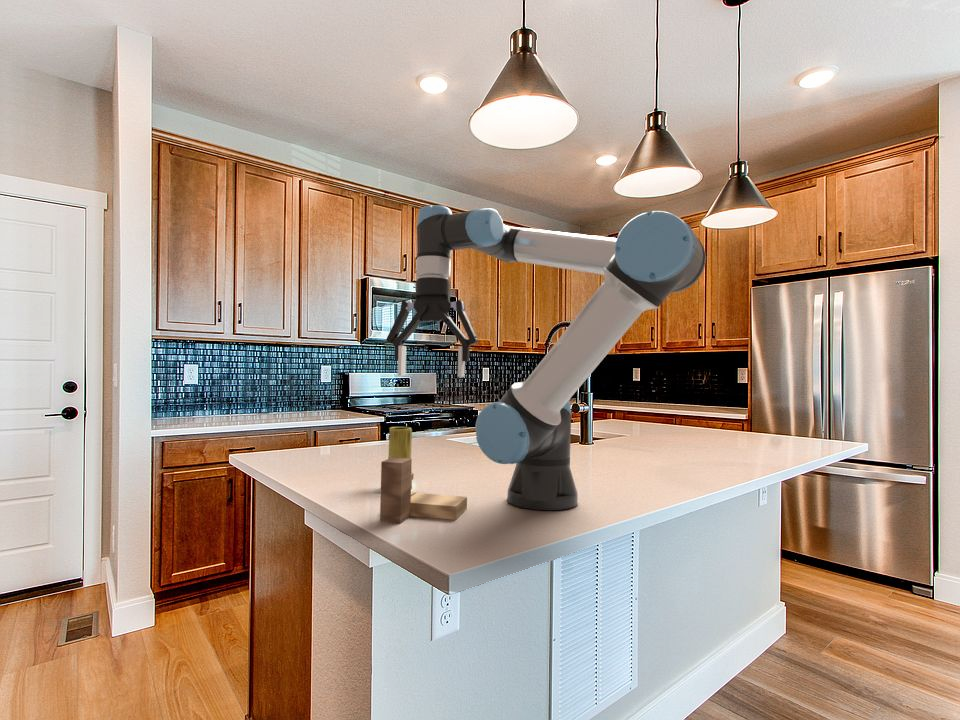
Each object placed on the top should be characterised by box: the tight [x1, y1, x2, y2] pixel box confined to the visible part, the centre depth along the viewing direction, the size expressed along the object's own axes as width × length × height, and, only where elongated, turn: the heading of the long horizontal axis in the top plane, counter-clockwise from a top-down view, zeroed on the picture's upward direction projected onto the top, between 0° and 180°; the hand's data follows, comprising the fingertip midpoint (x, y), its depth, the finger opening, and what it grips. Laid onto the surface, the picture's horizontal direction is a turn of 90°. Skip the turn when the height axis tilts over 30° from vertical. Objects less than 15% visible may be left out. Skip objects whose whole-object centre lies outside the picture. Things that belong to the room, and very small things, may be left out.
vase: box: [387, 426, 413, 490], centre depth 124 cm, size 6×6×14 cm
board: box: [410, 491, 468, 521], centre depth 104 cm, size 14×8×3 cm, turn 76°
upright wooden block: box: [379, 458, 415, 525], centre depth 101 cm, size 4×10×11 cm, turn 166°
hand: (431, 376), depth 114 cm, fingers open, 13 cm apart
